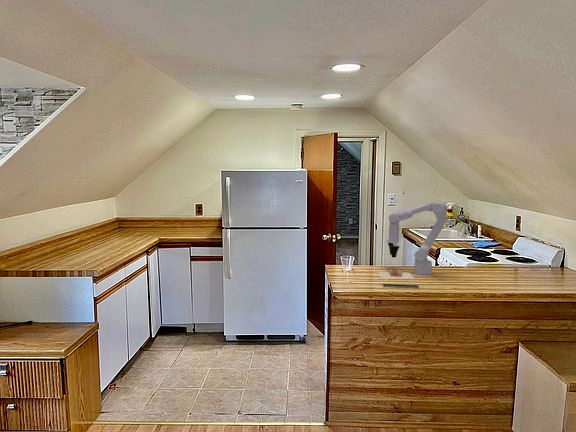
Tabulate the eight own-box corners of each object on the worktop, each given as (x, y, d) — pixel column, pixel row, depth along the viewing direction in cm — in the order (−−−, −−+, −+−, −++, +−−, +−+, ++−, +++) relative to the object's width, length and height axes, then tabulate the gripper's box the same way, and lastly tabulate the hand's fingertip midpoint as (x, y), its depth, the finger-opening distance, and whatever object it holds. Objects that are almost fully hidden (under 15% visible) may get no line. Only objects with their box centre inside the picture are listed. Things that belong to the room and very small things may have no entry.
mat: (414, 280, 228) (414, 280, 228) (419, 288, 215) (419, 287, 215) (380, 279, 230) (380, 279, 230) (383, 287, 216) (383, 286, 216)
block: (399, 273, 240) (399, 269, 240) (402, 276, 232) (402, 273, 232) (389, 272, 241) (389, 269, 241) (391, 276, 233) (391, 272, 233)
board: (409, 274, 241) (409, 272, 241) (414, 280, 228) (414, 278, 228) (378, 273, 243) (378, 271, 243) (380, 279, 230) (380, 277, 230)
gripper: (385, 231, 253) (384, 253, 254) (388, 235, 238) (387, 258, 240) (397, 231, 252) (396, 253, 254) (401, 235, 238) (400, 258, 239)
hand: (393, 256), depth 247 cm, fingers open, 6 cm apart
